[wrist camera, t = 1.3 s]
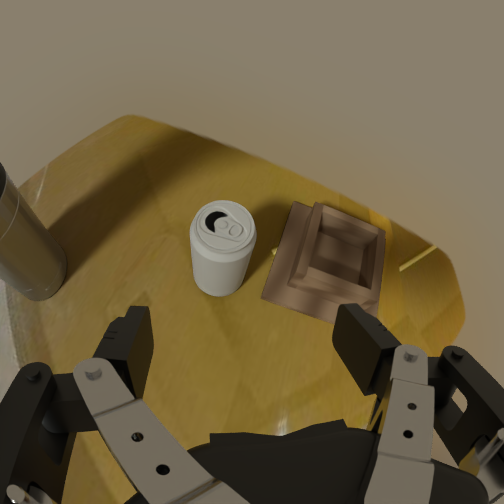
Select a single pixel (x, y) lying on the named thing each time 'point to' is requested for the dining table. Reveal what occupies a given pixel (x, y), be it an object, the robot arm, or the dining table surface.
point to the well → (326, 263)
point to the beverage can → (221, 246)
